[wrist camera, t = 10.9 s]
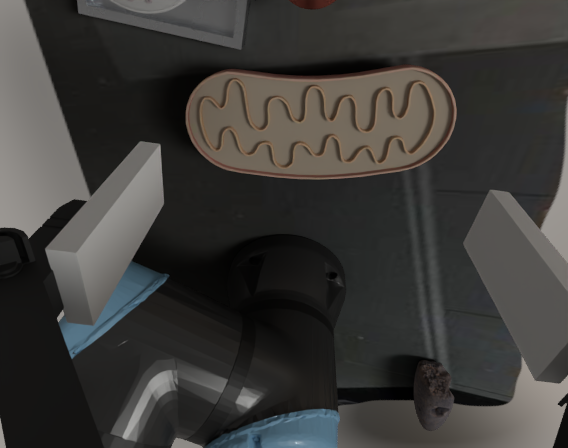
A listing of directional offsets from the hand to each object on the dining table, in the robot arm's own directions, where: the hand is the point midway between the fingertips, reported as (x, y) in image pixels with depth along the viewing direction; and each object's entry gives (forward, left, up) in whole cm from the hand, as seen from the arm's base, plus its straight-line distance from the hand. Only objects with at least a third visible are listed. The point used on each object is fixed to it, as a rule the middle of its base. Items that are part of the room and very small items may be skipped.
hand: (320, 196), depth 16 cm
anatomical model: (-5, -1, -24) cm, 24 cm away
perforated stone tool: (-44, -29, -23) cm, 57 cm away
